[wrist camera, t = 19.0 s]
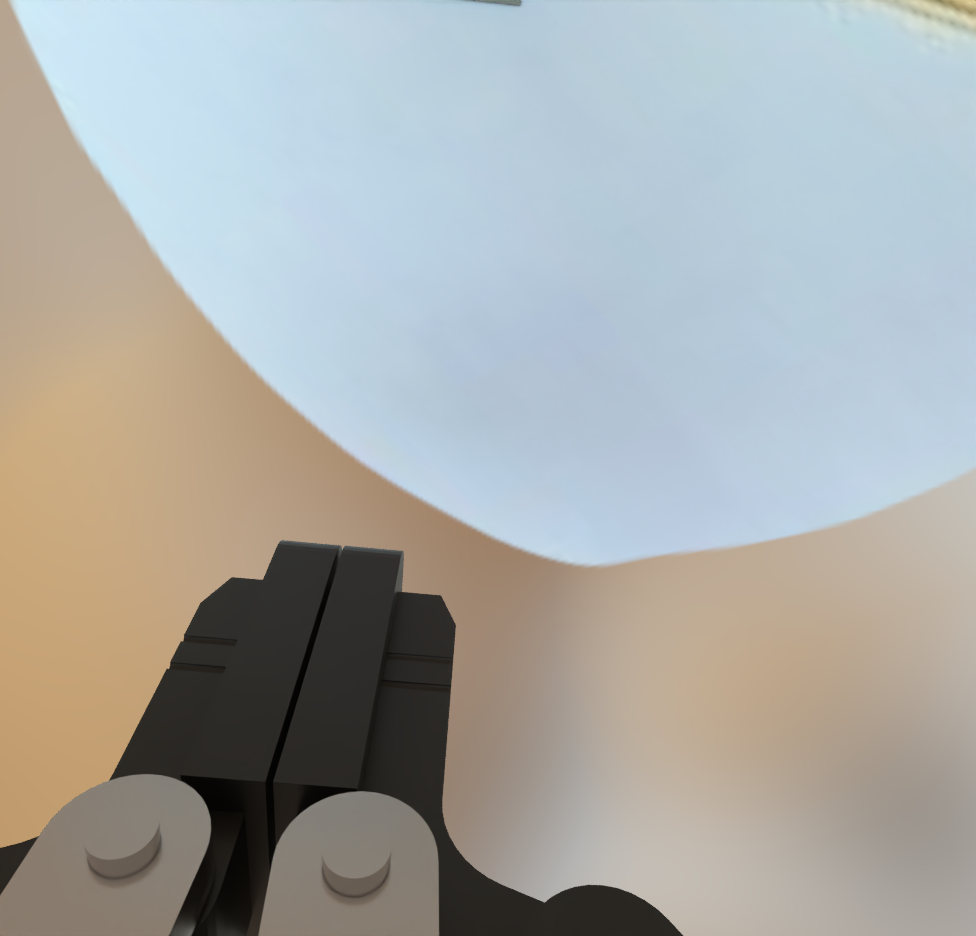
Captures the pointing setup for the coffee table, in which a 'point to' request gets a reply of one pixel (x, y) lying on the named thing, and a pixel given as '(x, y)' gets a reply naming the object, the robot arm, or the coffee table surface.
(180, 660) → the robot arm
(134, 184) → the coffee table surface
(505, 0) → the mat
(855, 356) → the coffee table surface
